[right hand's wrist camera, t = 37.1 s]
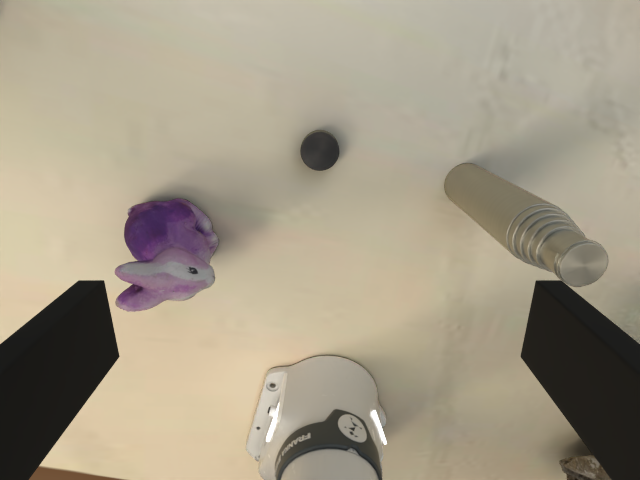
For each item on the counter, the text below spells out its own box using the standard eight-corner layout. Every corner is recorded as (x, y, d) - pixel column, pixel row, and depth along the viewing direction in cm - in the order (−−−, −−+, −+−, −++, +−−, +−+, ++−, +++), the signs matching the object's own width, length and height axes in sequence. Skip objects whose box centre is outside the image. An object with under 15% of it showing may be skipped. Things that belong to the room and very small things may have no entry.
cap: (299, 165, 48) (298, 168, 46) (303, 127, 46) (302, 129, 45) (335, 169, 48) (336, 172, 46) (340, 132, 47) (341, 134, 45)
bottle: (446, 163, 48) (553, 229, 26) (488, 163, 48) (631, 229, 26) (442, 203, 50) (539, 298, 28) (482, 203, 50) (612, 298, 28)
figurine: (236, 255, 52) (205, 319, 38) (159, 272, 52) (100, 341, 38) (212, 183, 48) (168, 223, 34) (130, 202, 49) (55, 249, 35)
